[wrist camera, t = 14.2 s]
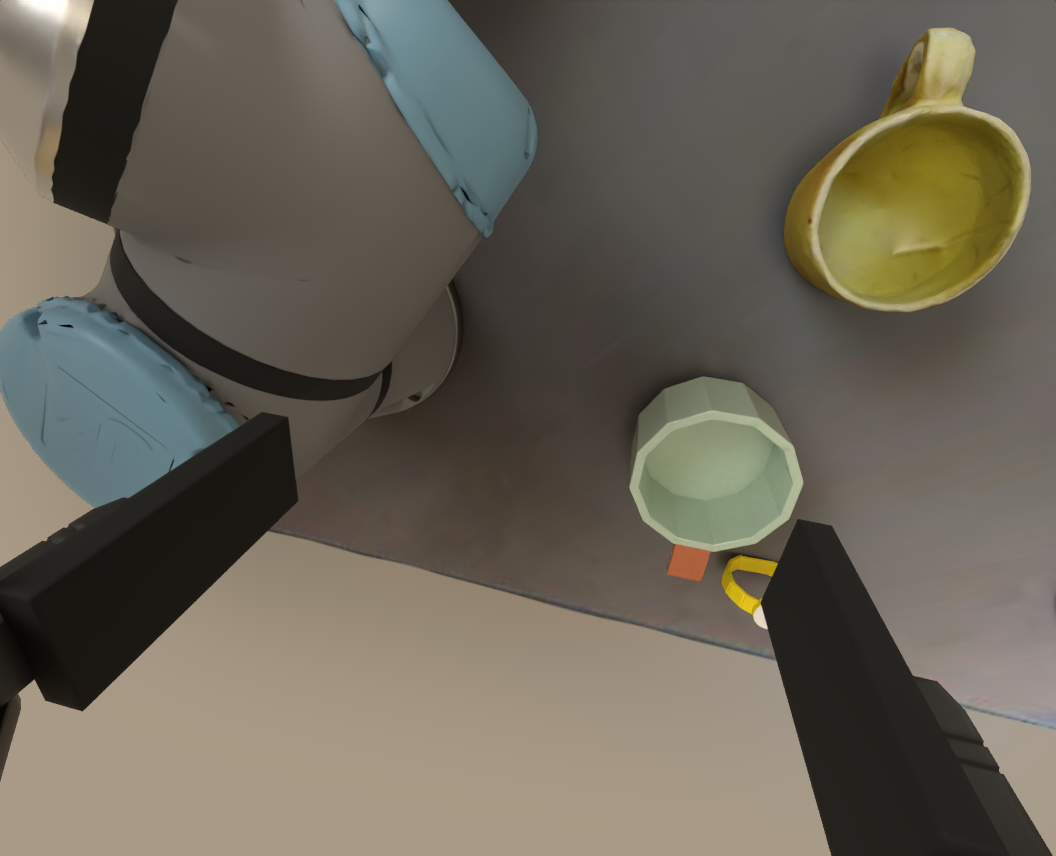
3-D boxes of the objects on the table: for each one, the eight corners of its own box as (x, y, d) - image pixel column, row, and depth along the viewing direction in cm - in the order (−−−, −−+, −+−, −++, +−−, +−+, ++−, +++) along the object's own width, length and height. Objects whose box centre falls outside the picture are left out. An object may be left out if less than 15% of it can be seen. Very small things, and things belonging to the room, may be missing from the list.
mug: (932, 335, 32) (985, 333, 23) (760, 293, 35) (748, 278, 27) (1038, 115, 28) (1149, 12, 19) (834, 96, 32) (849, 4, 23)
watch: (714, 567, 44) (723, 619, 39) (724, 542, 43) (735, 593, 38) (786, 584, 44) (805, 639, 38) (798, 559, 42) (820, 612, 37)
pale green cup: (649, 367, 36) (649, 399, 31) (799, 391, 35) (826, 429, 30) (616, 515, 42) (612, 563, 37) (744, 541, 41) (758, 595, 36)
